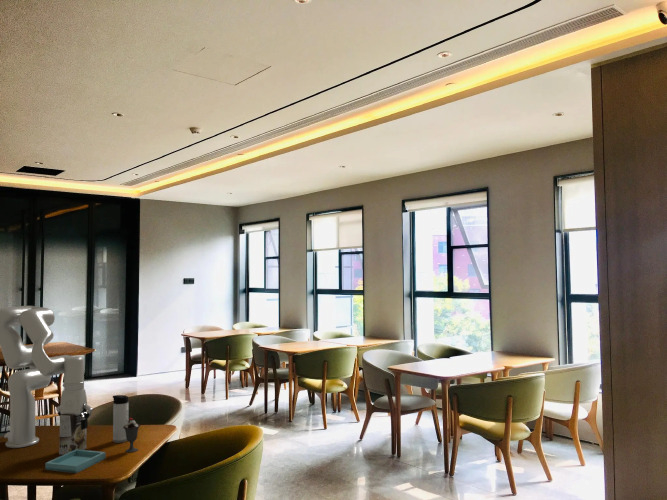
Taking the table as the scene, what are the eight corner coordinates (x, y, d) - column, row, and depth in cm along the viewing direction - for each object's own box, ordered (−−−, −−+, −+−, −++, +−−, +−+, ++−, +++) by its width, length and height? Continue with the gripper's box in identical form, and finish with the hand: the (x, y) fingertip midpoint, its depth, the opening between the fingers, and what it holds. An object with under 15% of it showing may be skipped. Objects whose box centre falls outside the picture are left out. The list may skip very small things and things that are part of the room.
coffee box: (72, 455, 221) (72, 415, 221) (58, 454, 222) (59, 414, 223) (87, 448, 230) (87, 409, 230) (73, 447, 231) (73, 409, 232)
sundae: (130, 447, 231) (130, 411, 231) (143, 449, 228) (143, 412, 229) (119, 452, 224) (119, 415, 225) (132, 454, 222) (132, 416, 223)
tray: (45, 469, 205) (45, 462, 205) (76, 455, 221) (76, 449, 221) (76, 473, 201) (76, 466, 202) (105, 458, 217) (105, 452, 217)
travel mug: (110, 440, 240) (110, 395, 240) (125, 437, 244) (125, 392, 245) (115, 444, 235) (115, 397, 236) (130, 440, 239) (130, 395, 240)
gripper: (50, 388, 225) (50, 430, 225) (85, 389, 221) (85, 431, 220) (63, 384, 233) (63, 425, 232) (97, 385, 228) (98, 426, 227)
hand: (74, 428), depth 226 cm, fingers open, 9 cm apart
